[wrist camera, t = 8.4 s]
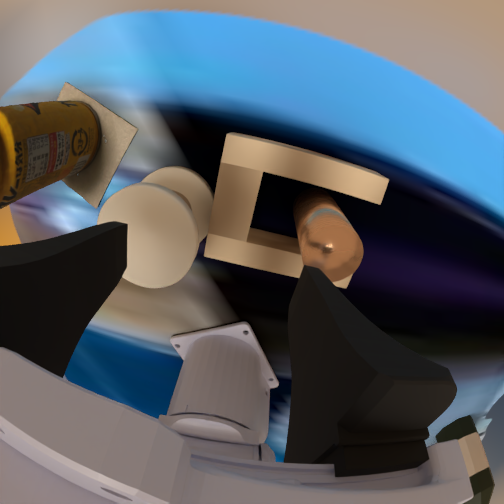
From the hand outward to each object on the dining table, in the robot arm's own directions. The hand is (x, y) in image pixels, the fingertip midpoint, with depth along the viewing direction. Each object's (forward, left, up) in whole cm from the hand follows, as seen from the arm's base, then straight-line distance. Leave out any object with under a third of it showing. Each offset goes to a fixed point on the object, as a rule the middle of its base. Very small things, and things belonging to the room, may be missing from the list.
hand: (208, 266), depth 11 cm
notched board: (-2, -3, -9) cm, 10 cm away
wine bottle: (-51, -23, -10) cm, 57 cm away
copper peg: (-2, -5, -9) cm, 11 cm away
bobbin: (+1, +4, -9) cm, 10 cm away
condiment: (+9, +10, -10) cm, 17 cm away
